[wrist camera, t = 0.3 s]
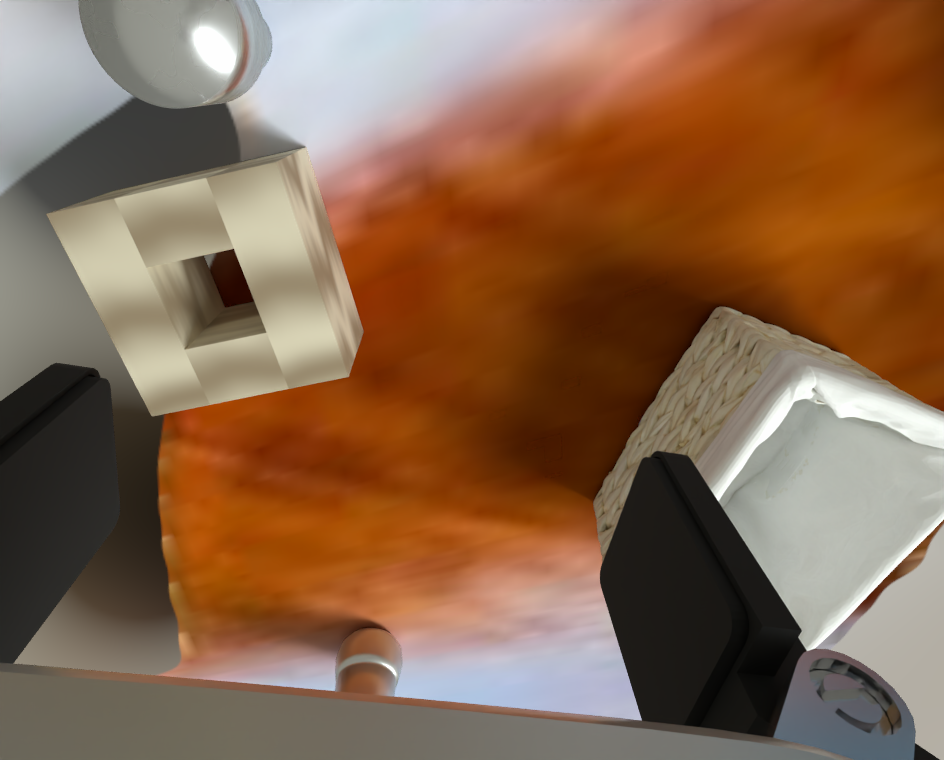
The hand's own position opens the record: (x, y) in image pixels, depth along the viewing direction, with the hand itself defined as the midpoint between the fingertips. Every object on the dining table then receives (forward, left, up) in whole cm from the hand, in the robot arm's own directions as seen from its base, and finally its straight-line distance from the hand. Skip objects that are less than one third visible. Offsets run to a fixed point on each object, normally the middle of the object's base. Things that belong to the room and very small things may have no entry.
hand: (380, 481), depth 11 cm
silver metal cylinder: (-11, -10, -36) cm, 39 cm away
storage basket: (+26, +19, -36) cm, 49 cm away
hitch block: (+3, -15, -36) cm, 39 cm away
